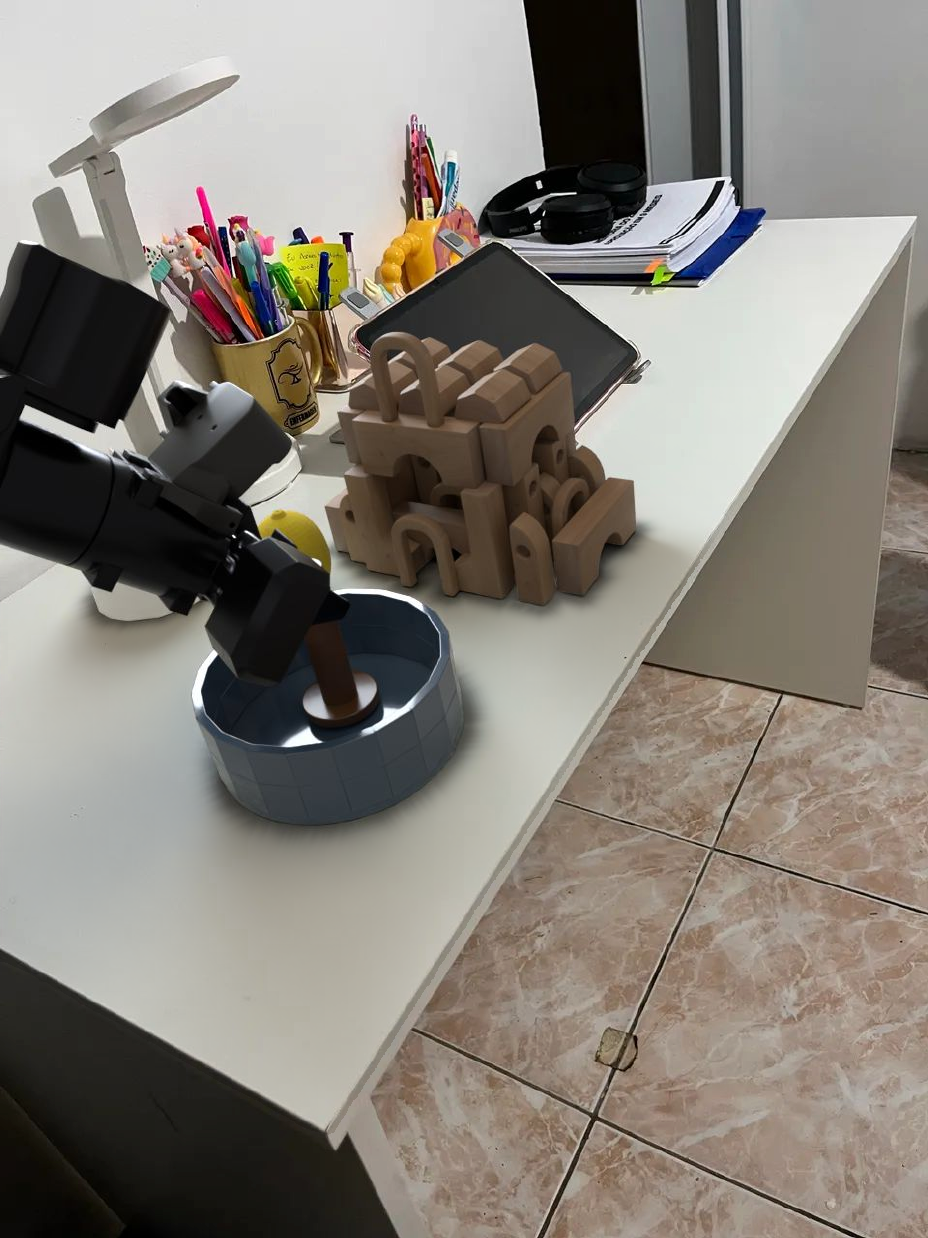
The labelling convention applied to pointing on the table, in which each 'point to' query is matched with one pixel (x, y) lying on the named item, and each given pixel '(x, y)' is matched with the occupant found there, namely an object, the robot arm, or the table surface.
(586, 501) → the wooden puzzle
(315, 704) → the brown wooden peg
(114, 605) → the teardrop
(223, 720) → the bowl
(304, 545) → the lemon
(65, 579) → the table surface
